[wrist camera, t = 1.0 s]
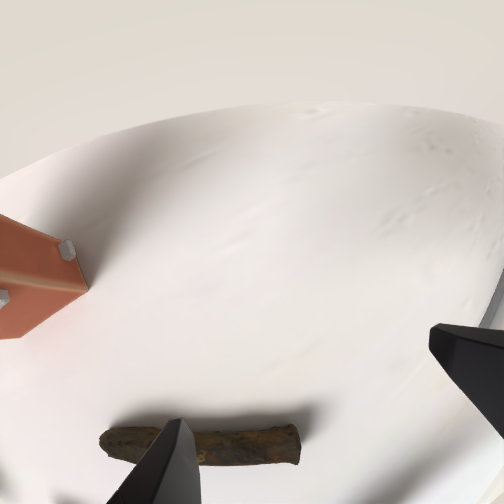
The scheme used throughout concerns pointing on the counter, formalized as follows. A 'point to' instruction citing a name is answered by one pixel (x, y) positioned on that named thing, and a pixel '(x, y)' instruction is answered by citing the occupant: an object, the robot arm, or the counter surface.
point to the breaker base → (495, 309)
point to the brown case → (34, 277)
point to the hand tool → (212, 446)
